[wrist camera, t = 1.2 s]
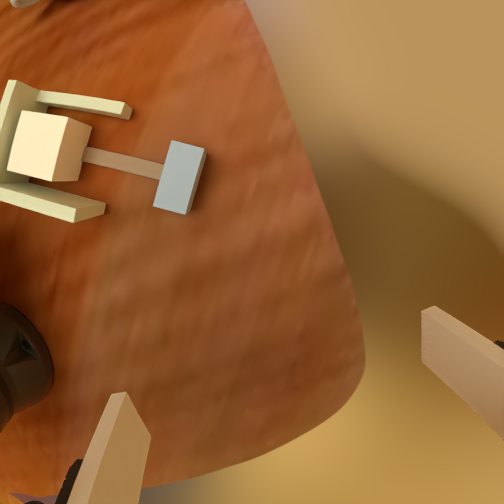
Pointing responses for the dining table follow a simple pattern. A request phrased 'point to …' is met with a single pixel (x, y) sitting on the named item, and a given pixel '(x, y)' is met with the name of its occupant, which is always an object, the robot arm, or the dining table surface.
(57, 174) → the tethered block
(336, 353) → the dining table surface
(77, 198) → the shelf lane
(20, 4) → the teacup
